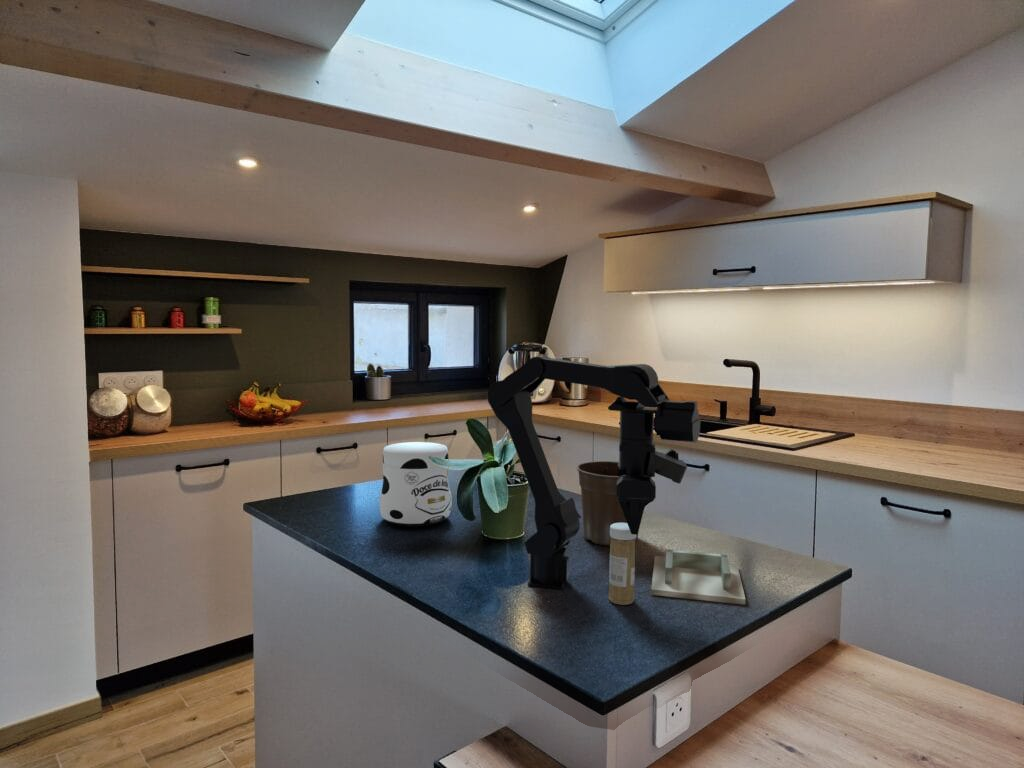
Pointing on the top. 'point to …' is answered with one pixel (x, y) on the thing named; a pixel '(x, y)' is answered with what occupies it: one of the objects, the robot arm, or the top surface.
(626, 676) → the top surface
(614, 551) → the sprinkles bottle
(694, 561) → the u rest
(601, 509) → the plant pot
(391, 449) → the doce de leite jar
